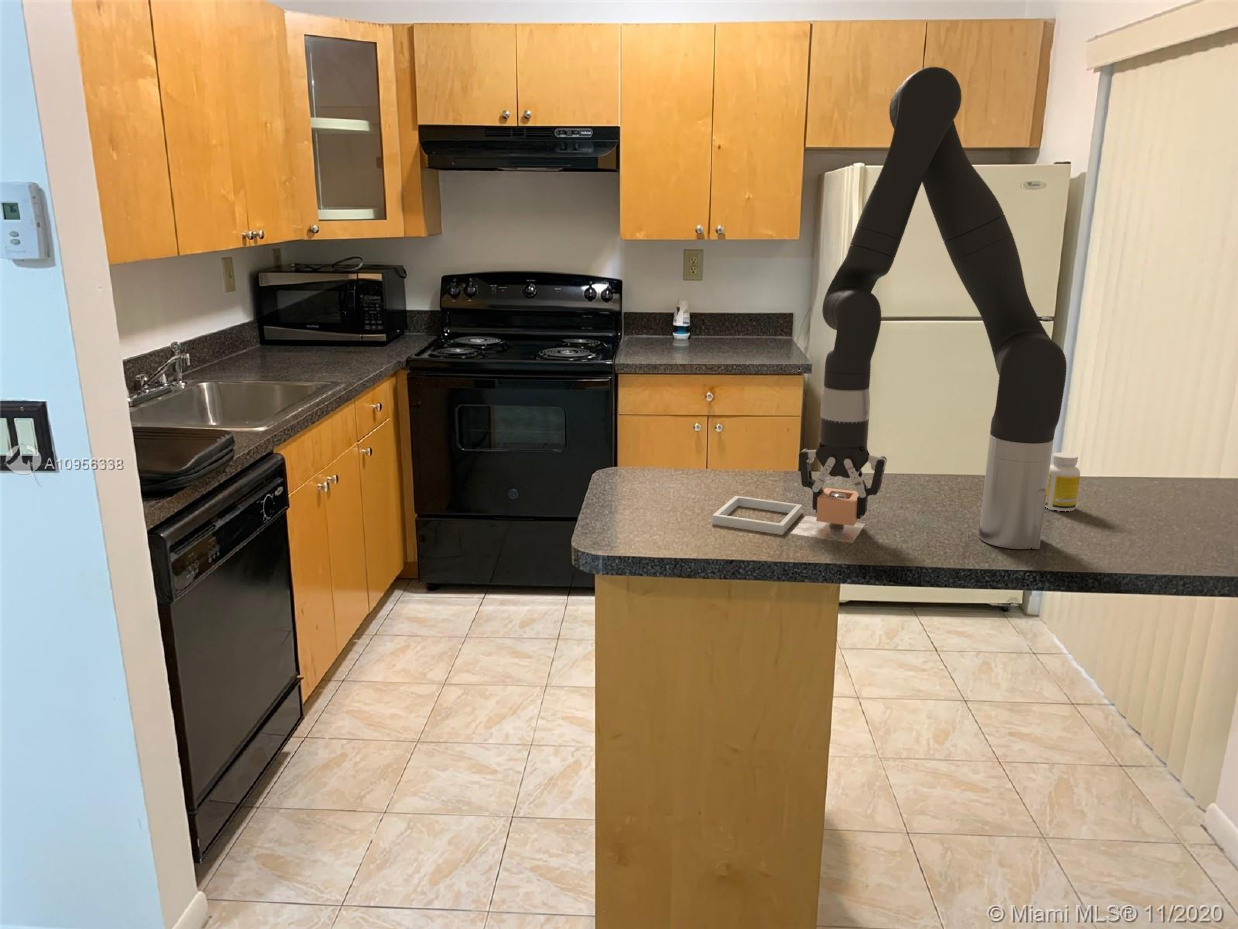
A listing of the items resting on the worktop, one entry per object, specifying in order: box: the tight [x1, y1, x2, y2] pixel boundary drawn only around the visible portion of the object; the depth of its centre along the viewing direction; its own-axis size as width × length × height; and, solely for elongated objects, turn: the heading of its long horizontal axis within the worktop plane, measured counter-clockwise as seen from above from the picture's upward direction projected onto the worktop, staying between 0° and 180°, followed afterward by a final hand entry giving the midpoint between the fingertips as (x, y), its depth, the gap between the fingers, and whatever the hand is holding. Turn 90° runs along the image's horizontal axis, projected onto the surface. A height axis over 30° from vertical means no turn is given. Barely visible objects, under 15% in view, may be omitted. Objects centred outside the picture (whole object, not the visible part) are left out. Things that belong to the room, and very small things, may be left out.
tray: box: [711, 495, 803, 536], centre depth 156 cm, size 12×12×2 cm
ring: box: [816, 487, 859, 526], centre depth 151 cm, size 6×6×4 cm
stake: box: [790, 493, 866, 544], centre depth 151 cm, size 10×10×6 cm
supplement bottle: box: [1045, 452, 1081, 513], centre depth 164 cm, size 5×5×10 cm
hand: (838, 514), depth 151 cm, fingers closed on ring, 6 cm apart
